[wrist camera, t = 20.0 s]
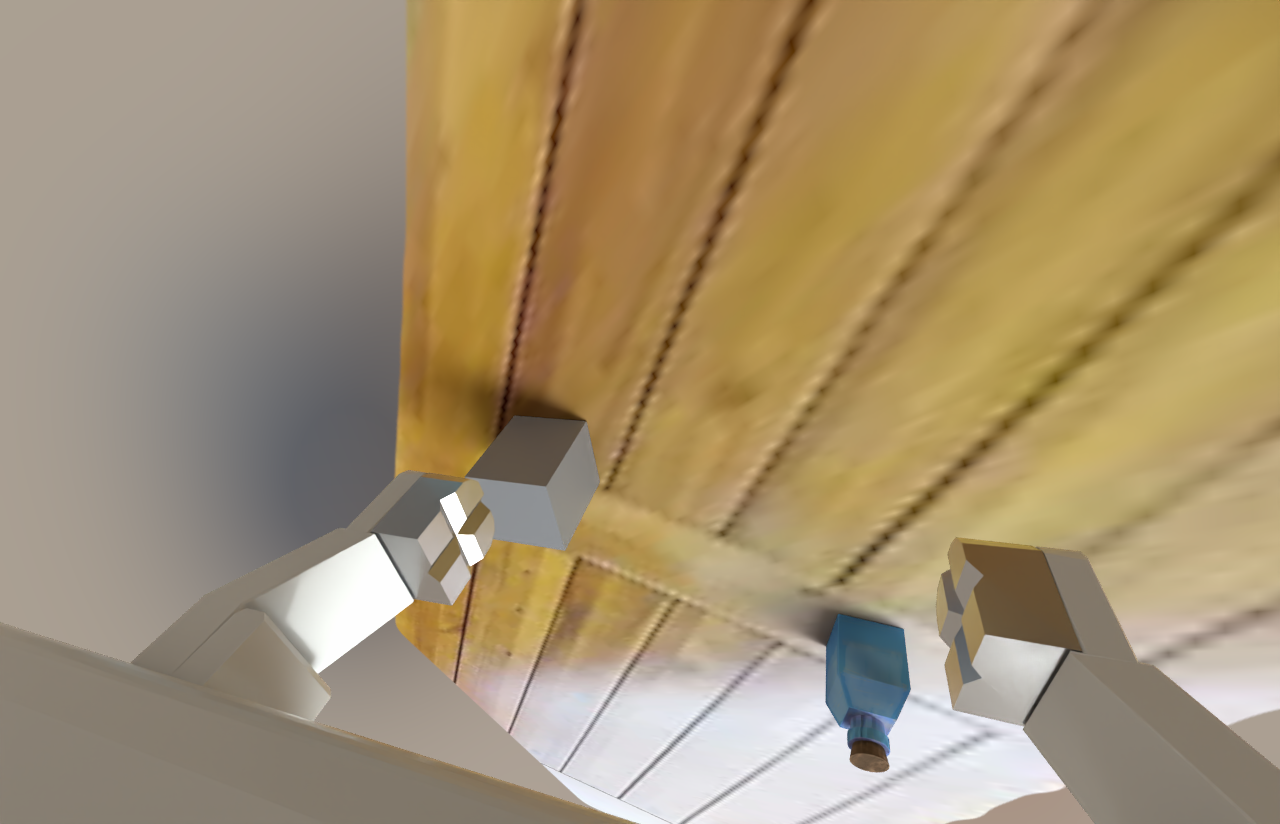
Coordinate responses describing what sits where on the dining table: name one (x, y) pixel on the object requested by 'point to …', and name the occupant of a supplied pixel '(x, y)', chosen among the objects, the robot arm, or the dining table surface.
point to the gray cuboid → (538, 480)
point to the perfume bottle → (866, 686)
